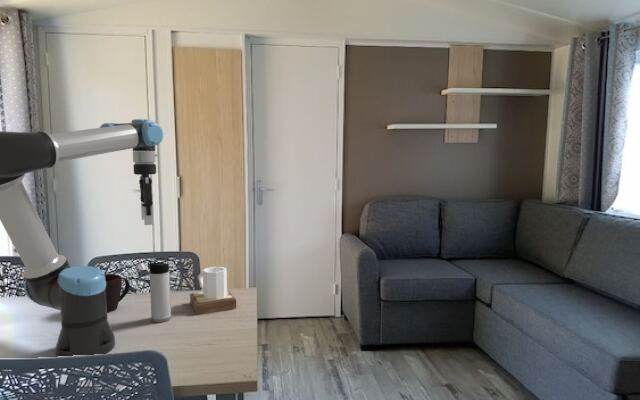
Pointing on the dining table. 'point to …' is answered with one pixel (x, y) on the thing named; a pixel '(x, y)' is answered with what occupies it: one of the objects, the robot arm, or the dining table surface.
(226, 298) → the pedestal
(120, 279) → the mug
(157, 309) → the travel mug
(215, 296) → the mug
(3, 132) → the robot arm
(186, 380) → the dining table surface
